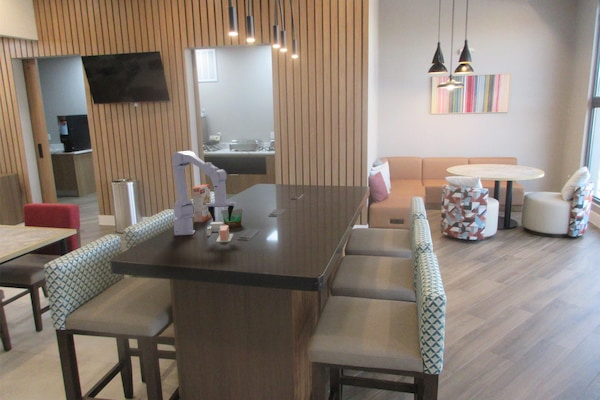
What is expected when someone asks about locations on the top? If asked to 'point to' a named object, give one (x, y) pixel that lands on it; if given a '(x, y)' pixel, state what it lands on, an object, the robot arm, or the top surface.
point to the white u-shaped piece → (214, 227)
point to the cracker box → (201, 202)
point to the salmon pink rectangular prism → (224, 232)
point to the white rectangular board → (225, 240)
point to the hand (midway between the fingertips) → (222, 221)
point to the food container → (232, 218)
